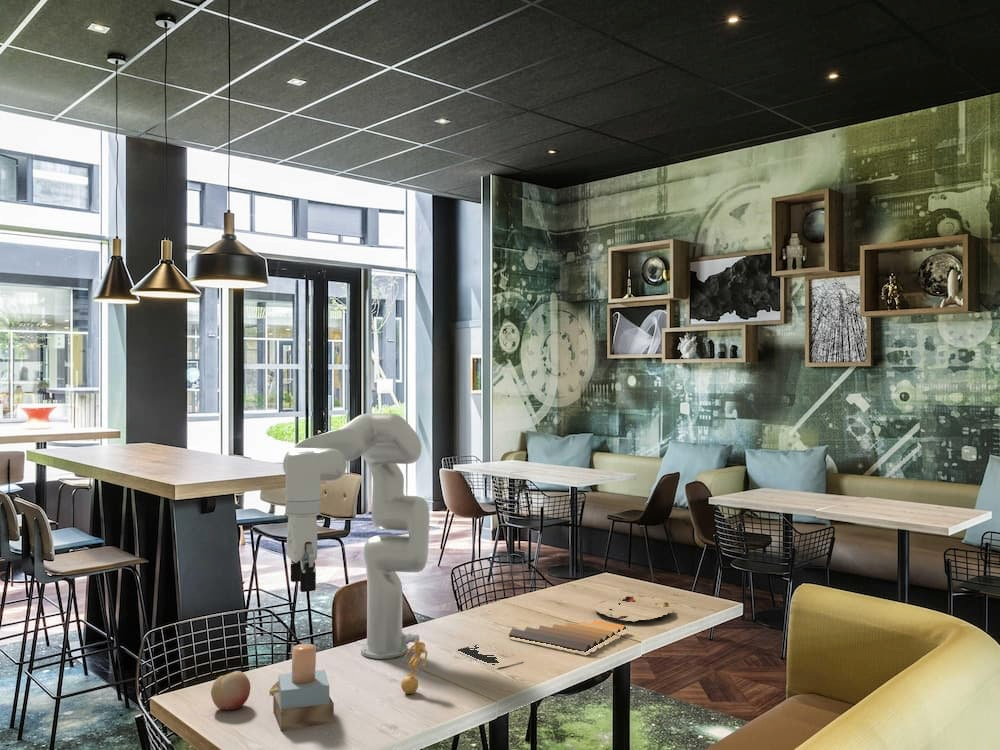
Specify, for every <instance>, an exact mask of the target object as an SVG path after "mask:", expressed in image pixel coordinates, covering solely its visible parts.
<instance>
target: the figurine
mask: <svg viewBox="0 0 1000 750" xmlns="http://www.w3.org/2000/svg"><path fill="white" fill-rule="evenodd" d="M413 643H414V644H413V645H412V646H410V648H408V651H407V653H405V654H404V658H406V657H407V655H408V654H409V653H410V652H412V650H414V654H413V655H412V657H411V659H410V661H409V662H408V667H409V668H410V669H411V671H410V672H409V674H407V675H406V676H405V677H404V678H403V679H402V681H401V683H400V684H401V685H400V687H401V690H402V691H403V692H404V693H405V694H409V695H410V694H414V693H416V691H417V690H418V688H419V682H418V679H417V678H416V677H415V676H416V675H417V673H418V667H417V666H418V664H420V661H421V656H422V654H423V652H424V659H423V660H424V661H423V662H422V663H421V664H422V667H425V666H426V662H427V658H428V651H427V650H426V644H425V642H423V641H420V640H419V641H417V640H416V641H415V642H413Z"/></svg>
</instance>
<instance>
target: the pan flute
mask: <svg viewBox="0 0 1000 750" xmlns="http://www.w3.org/2000/svg"><path fill="white" fill-rule="evenodd" d="M626 628H627V627H626V625H622V624H618V623H613V622H608V621H602V620H597V619H593V621H592V622H586V621H581V620H580V621H579V624H576V623H572V622H571V623H570V622H567V623H566V625H560V624H556V623H554V624H553V626H552V627H549V626H546V625H540V626H539V627H538V628H533V627H529V626H527V627H525V628H524V630H521V629H517V628H512V629H511V630H510V632H509V633H508V636H509V638H510V637H515V638H520V639H525V640H529V641H535V642H540V643H546V644H551V645H555V646H560V647H563V648H567V649H572V650H578V651H584V652H586V651H588V650H589V649H591V648H593V647H594V646H596V645H598V644H600V643H602V642H604V641H605V640H607V639H608V638H610V637H612V636H613V635H615V633H616V634H617V633H618V632H620V631H621V630H624V629H626Z"/></svg>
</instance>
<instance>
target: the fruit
mask: <svg viewBox="0 0 1000 750" xmlns="http://www.w3.org/2000/svg"><path fill="white" fill-rule="evenodd" d="M250 694H251V682H250V680H249V677H248V676H247V675H246V674H245V673H244V672H242V671H241V670H235V671H232V672H229V673H226V674H225V675H220V676H218V677H216V679H215V680H214V682H213V683H212V687H211V691H210V695H211V700H212V702H213V704H214V706H216V708H218V709H219V710H228V711H235V710H237V709H239V708H241V707H242V706H244V704H246V703H247V701H248V699H249V697H250ZM234 709H235V710H234Z"/></svg>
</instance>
